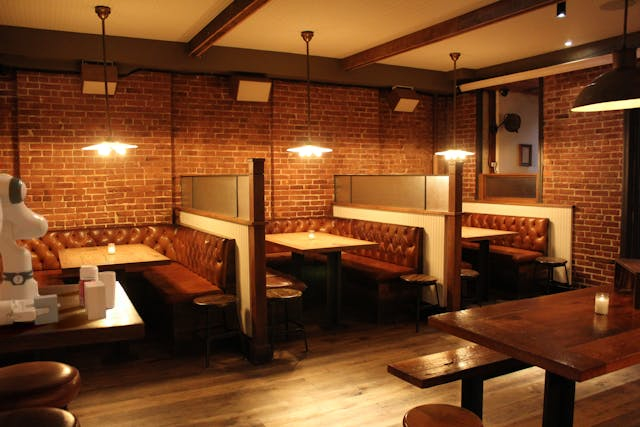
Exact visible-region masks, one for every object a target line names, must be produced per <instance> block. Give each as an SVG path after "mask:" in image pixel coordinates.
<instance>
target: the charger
mask: <svg viewBox="0 0 640 427" xmlns="http://www.w3.org/2000/svg"><path fill="white" fill-rule="evenodd" d="M34 306H35V309H43V308H47V307H48V308H49V313H44V314H41V315H36V319H35V320H34V325H35V326H39V325H45V324H54V322H55V323H59V309H58V308H61V303H59V302H58V296H57V294H55V293H54V294H47V295H41V296H36V297H34Z"/></svg>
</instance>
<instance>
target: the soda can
mask: <svg viewBox="0 0 640 427" xmlns="http://www.w3.org/2000/svg"><path fill="white" fill-rule="evenodd" d="M92 281H95V279H94V277H83V278H80V277H79V281H78V302H79V305H80V306H81V307H83V308H85V290H84V282H92Z"/></svg>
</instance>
